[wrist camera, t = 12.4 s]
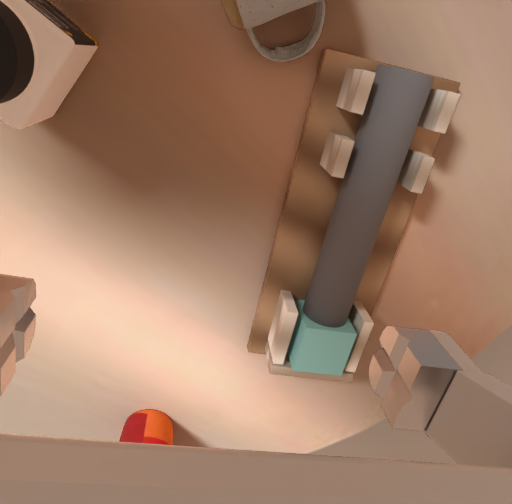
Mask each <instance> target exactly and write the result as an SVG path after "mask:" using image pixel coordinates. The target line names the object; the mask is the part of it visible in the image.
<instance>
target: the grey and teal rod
mask: <svg viewBox="0 0 512 504" xmlns="http://www.w3.org/2000/svg"><path fill="white" fill-rule="evenodd" d="M375 73H376V74H375V77H374V81H373V84H372V87H371V90H370V94H369V97H368V100H367V103H366V106H365V110H364V113H363V115H362V118H361V121H360V124H359V127H358V131H357V134H356V137H355V140H354V141H355V142H354V145H353V149H352V152H351V155H350V158H349V162H348V165H347V168H346V171H345V175H344V178H343V179H342V182H341V186H340V189H339V192H338V195H337V199H336V202H335V205H334V208H333V212H332V215H331V218H330V221H329V224H328V228H327V231H326V234H325V237H324V241H323V244H322V247H321V250H320V254H319V257H318V260H317V263H316V267H315V270H314V273H313V276H312V279H311V283H310V286H309V289H308V292H307V296H306V299H305V300H298V299H296V301H295V305H296V308H297V310H298V317H297V320H296V323H295V326H294V330H293V333H292V336H291V340H290V343H289V346H288V349H287V352H288V356H289V359H290V363H291V367H292V370H293V371H300V372H309V373H319V374H328V375H338V376H341V375H342V373H343V370H344V367H345V365H346V362H347V359H348V357H349V354H350V352H351V349H352V346H353V344H354V341H355V338H356V336H357V333H356V331H355V329H354V328H353V326H352V324H351V322H350V320H349V318H348V316H349V313H350V310H351V307H352V304H353V302H354V299H355V296H356V293H357V291H358V288H359V285H360V282H361V280H362V277H363V274H364V271H365V269H366V266H367V263H368V260H369V258H370V255H371V252H372V249H373V247H374V244H375V241H376V238H377V236H378V233H379V230H380V227H381V225H382V222H383V219H384V216H385V213H386V211H387V208H388V205H389V202H390V200H391V197H392V194H393V191H394V189H395V186H396V183H397V180H398V178H399V175H400V172H401V169H402V167H403V164H404V161H405V158H406V156H407V153H408V150H409V147H410V145H411V142H412V139H413V136H414V134H415V131H416V128H417V125H418V123H419V120H420V117H421V114H422V111H423V109H424V106H425V103H426V100H427V98H428V95H429V92H430V89H431V87H432V84H433V81H434V77H432V76H429V75H426V74H422V73H418V72H414V71H410V70H406V69H401V68H396V67H391V66H386V65H378V66H377V69H376V72H375Z"/></svg>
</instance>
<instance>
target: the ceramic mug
mask: <svg viewBox="0 0 512 504" xmlns="http://www.w3.org/2000/svg"><path fill="white" fill-rule="evenodd" d="M315 2H316V13H315V19H314V24H313V26H312V28H311V31H310V32H309V34H308V35H307V37H306V38H304V39H303V40H302V41H300V42H297V43H294V44H291V45H288V46H285V47H276V48H275V49H273V50H271V49H267V48H266V47H265V46H263V45H261V44H260V43H259V41H258V40H257V38H256V37H255V34H254V32H253V27H255V26H258V25H261V24H264V23H266V22H269V21H271V20H273V19H275V18H277V17H280V16H282V15H284V14H287V13H289V12H292V11H295V10H298V9H301V8H303V7H306V6H308V5H311V4H313V3H315ZM221 3H222V5H223V7H224V10H225V12H226V15H227V17H228V19H229V22H230V24H231V25H232V26H234V27H236V28H238V29H244V28H246V31H247V34H248V36H249V38H250V40H251V42H252V43H253V45H254V47H255V48H256V49H257V51H258V52H259V53H260V54H261V55H262V56H263V57H265V58H267V59H269V60H272V61H275V62H288V61H292V60H295V59H297V58H300V57H302V56H303V55H305V54H307V53H308V52H309V51H310V50H311V49H312V48H313V47H314V46H315V44H316V42H317V41H318V39H319V37H320V35H321V32H322V30H323V25H324V20H325V11H326V7H325V5H326V2H325V0H221Z"/></svg>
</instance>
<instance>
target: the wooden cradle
mask: <svg viewBox="0 0 512 504" xmlns="http://www.w3.org/2000/svg"><path fill="white" fill-rule="evenodd" d="M378 65H386V66H391V67H396V68H401V67H397V66H393V65H389V64H385V63H382V62H378V61H374V60H370V59H366V58H362V57H358V56H354V55H350V54H346V53H343V52H339V51H335V50H331V49H324V50H323V54H322V57H321V61H320V65H319V69H318V73H317V77H316V81H315V85H314V89H313V92H312V96H311V100H310V104H309V108H308V112H307V116H306V120H305V124H304V127H303V131H302V135H301V139H300V143H299V147H298V151H297V155H296V159H295V162H294V166H293V170H292V174H291V178H290V182H289V186H288V190H287V194H286V197H285V201H284V205H283V209H282V213H281V217H280V221H279V225H278V229H277V232H276V236H275V240H274V244H273V248H272V252H271V256H270V260H269V264H268V267H267V271H266V275H265V279H264V283H263V287H262V291H261V295H260V299H259V302H258V306H257V310H256V314H255V318H254V322H253V326H252V330H251V334H250V337H249V341H248V345H247V348H248V352H253V353H262V354H266V356H267V361H268V366H269V371H270V374H276V375H286V376H296V377H306V378H316V379H325V380H335V381H345V382H351V381H352V378H353V376H354V373H353V372H355V371H356V368H357V365H358V363H359V360H360V358H361V355H362V353H363V350H364V348H365V345H366V343H367V340H368V338H369V335H370V332H371V330H372V327H373V325H374V322H373V321H372V319H371V317H370V316H371V313H372V311H373V308H374V306H375V303H376V300H377V298H378V295H379V293H380V290H381V287H382V285H383V282H384V280H385V277H386V274H387V272H388V269H389V267H390V264H391V262H392V259H393V256H394V254H395V251H396V249H397V246H398V243H399V241H400V238H401V236H402V233H403V230H404V228H405V225H406V223H407V220H408V218H409V215H410V212H411V210H412V207H413V205H414V202H415V199H416V197H417V194H418V193H420V194H422V191H423V189H424V186H425V184H426V181H427V179H428V176H429V174H430V171H431V168H432V166H433V163H434V161H435V158H433V157H432V155H433V153H434V150H435V148H436V145H437V142H438V140H439V137H440V135H441V133H444V134H445V133H446V130H447V127H448V125H449V122H450V120H451V117H452V115H453V112H454V109H455V107H456V104H457V102H458V99H459V97H460V94H458V93H457V91H458V88H459V86H460V83H459V82H456V81H452V80H448V79H444V78H440V77H436V76H432V75H429V76H432V77H434V81H433V84H432V87H431V89H430V92H429V95H428V98H427V100H426V103H425V106H424V109H423V111H422V114H421V117H420V120H419V123H418V125H417V128H416V131H415V134H414V136H413V139H412V142H411V145H410V147H409V150H408V153H407V156H406V158H405V161H404V164H403V167H402V169H401V172H400V175H399V178H398V180H397V183H396V186H395V189H394V191H393V194H392V197H391V200H390V202H389V205H388V208H387V211H386V213H385V216H384V219H383V222H382V225H381V227H380V230H379V233H378V236H377V238H376V241H375V244H374V247H373V249H372V252H371V255H370V258H369V260H368V263H367V266H366V269H365V271H364V274H363V277H362V280H361V282H360V285H359V288H358V291H357V293H356V296H355V299H354V302H353V304H352V307H351V310H350V313H349V316H348V318H349V320H350V322H351V324H352V326H353V328H354V329H355V331H356V333H357V336H356V338H355V341H354V344H353V346H352V349H351V352H350V354H349V357H348V359H347V362H346V365H345V367H344V370H343V373H342V375H341V376H338V375H328V374H319V373H309V372H300V371H293V370H292V367H291V363H290V359H289V356H288V352H287V349H288V346H289V343H290V340H291V336H292V333H293V330H294V326H295V323H296V320H297V317H298V310H297V308H296V305H295V301H296V299H298V300H305V299H306V296H307V292H308V289H309V286H310V283H311V279H312V276H313V273H314V270H315V267H316V263H317V260H318V257H319V254H320V250H321V247H322V244H323V241H324V237H325V234H326V231H327V228H328V224H329V221H330V218H331V215H332V212H333V208H334V205H335V202H336V199H337V195H338V192H339V189H340V186H341V182H342V179H343V178H344V175H345V171H346V168H347V165H348V162H349V158H350V155H351V152H352V149H353V145H354V142H355V141H354V140H355V137H356V134H357V131H358V127H359V124H360V121H361V118H362V115H363V113H364V110H365V106H366V103H367V100H368V97H369V94H370V90H371V87H372V84H373V81H374V77H375V74H376V73H375V72H376V69H377V66H378ZM401 69H405V68H401ZM406 70H409V69H406ZM410 71H413V70H410ZM414 72H417V71H414ZM418 73H421V72H418ZM422 74H424V73H422ZM426 75H428V74H426Z"/></svg>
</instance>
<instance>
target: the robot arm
mask: <svg viewBox="0 0 512 504" xmlns="http://www.w3.org/2000/svg"><path fill="white" fill-rule="evenodd" d="M35 298H36V283H35V281H34V279H31V278H25V277H18V276H11V275H4V274H0V396H2V394H3V393H4V391H5V389H6V388H7V386H8V384H9V383H10V381H11V379H12V378H13V376H14V374H15V373H16V362H17V361H19V360H21V359H23V358H25V356H26V354H27V352H28V351H29V349H30V346H31V343H32V340H33V337H34V332H35V325H36V315H35V313H34V312H33V311H32V309H31V308H30V305H31V304H32V302H33V301H34V300H35ZM379 341H380V343H381V346H382V348H381V349H379V350H378V351H377V352H376V353H374V354H373V356H372V359H371V362H370V365H369V380H370V385H371V387H372V389H373V391H374V393H376V394H377V395H378V396H379V397H381V398H382V399H383V402H382V405H381V407H382V409H383V411H384V413H385V415H386V417H387V419H388V421H389V423H390V425H391V427H392V428H395V429H405V430H413V431H422V432H426V433H425V434H426V435H427V436H428V437H430V439H432V440H433V441H434V442H435V443H436V444H437V445H438V446H439V447H440V448H441V449H442V450H443V451H444V452H445V453H446V454H447V455H448V456H449V457H450V458H452V460H454V461H455V462H456V463H457V464H447V463H432V462H415V461H401V460H386V459H371V458H354V457H341V456H326V455H311V454H296V453H281V452H266V451H251V450H236V449H221V448H206V447H191V446H176V445H161V444H146V443H131V442H116V441H101V440H86V439H71V438H56V437H41V436H26V435H11V434H0V504H512V387H510V386H508V385H507V384H505V383H503V382H502V381H500V380H498V379H496V378H495V377H493V376H491V375H490V374H485V373H482V372H481V370H480V369H479V368H478V367H477V366H476V365H475V364H474V362H473V361H472V360H471V359H470V358H469V357H468V355H467V354H466V353H465V352H464V351H463V350H462V349H461V347H460V346H459V345H458V344H457V343H456V342H455V341H454V339H453V338H452V337H451V336H450V335H449V334H448V333H445V332H443V331H434V330H423V329H413V328H404V327H394V326H387V327H386V328H385V329H384V330H383V332H382V334H381V337H380V339H379Z"/></svg>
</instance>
